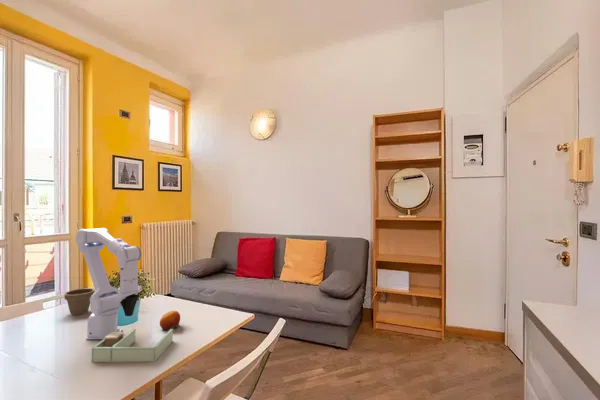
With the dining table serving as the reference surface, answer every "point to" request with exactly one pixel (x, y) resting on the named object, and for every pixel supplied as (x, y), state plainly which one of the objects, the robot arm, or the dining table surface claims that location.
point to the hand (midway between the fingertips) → (129, 315)
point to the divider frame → (129, 349)
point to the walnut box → (113, 338)
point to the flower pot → (79, 300)
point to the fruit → (170, 320)
